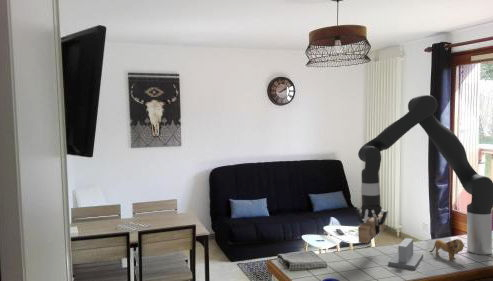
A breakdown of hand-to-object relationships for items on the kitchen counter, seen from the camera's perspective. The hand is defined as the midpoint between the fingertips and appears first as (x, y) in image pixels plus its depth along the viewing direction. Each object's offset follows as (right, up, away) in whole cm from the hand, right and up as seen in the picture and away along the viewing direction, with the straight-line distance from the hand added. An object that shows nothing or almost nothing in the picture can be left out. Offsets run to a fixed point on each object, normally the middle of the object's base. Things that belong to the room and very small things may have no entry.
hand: (372, 233), depth 167 cm
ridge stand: (+13, -11, -4) cm, 17 cm away
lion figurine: (+31, -10, -2) cm, 32 cm away
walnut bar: (0, -1, 0) cm, 1 cm away
